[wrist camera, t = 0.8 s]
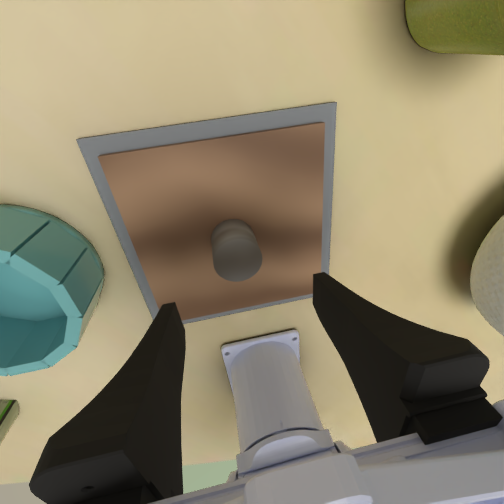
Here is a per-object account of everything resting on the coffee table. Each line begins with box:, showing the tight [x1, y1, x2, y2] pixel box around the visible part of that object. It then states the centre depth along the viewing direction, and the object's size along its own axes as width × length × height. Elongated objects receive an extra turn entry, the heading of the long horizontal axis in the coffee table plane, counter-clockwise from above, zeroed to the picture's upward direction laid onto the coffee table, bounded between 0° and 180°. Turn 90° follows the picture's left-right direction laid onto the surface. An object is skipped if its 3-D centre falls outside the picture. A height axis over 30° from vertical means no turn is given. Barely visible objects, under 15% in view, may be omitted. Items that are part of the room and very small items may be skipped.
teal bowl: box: [0, 205, 104, 376], centre depth 17 cm, size 10×10×5 cm
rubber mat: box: [76, 102, 337, 324], centre depth 21 cm, size 16×16×1 cm
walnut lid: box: [98, 122, 325, 321], centre depth 19 cm, size 14×14×4 cm
